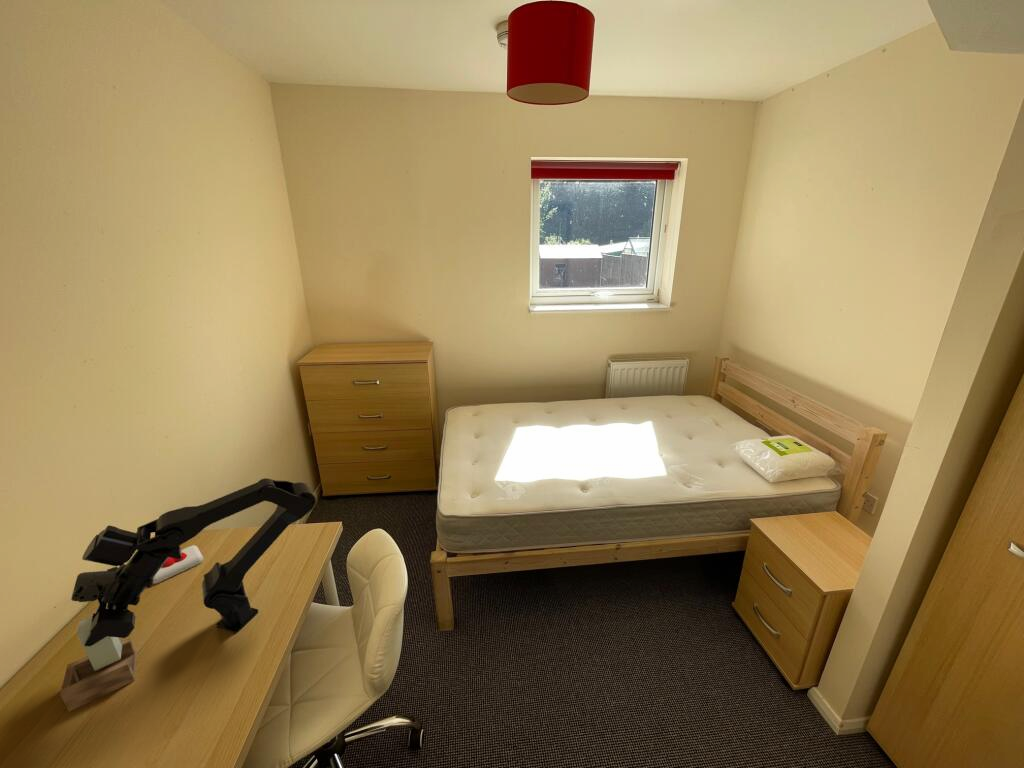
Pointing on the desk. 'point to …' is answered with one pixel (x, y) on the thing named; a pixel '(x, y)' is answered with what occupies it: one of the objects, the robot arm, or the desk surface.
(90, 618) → the clay bar
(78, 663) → the wooden channel cradle
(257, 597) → the desk surface
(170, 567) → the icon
